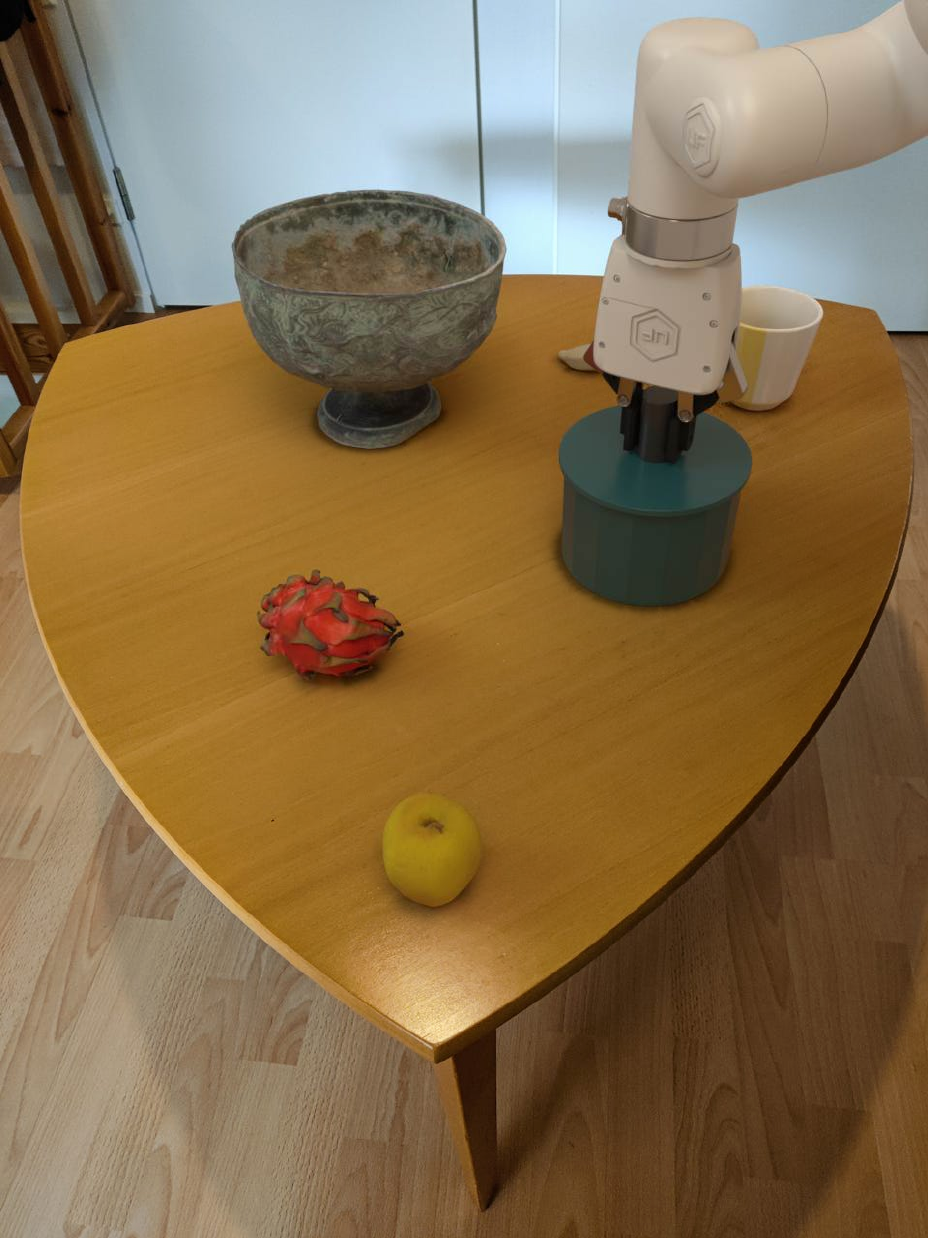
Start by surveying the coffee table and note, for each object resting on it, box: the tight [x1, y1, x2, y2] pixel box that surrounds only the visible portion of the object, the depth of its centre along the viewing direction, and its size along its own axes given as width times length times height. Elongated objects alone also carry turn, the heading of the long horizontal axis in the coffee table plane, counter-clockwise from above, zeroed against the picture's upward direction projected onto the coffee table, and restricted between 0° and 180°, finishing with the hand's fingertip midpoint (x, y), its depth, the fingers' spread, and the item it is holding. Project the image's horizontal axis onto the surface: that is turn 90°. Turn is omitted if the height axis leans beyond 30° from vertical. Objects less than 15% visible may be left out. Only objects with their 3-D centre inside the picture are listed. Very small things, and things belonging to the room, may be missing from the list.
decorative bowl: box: [231, 189, 507, 450], centre depth 102 cm, size 26×26×20 cm
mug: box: [722, 285, 824, 412], centre depth 104 cm, size 14×10×10 cm
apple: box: [381, 791, 483, 908], centre depth 63 cm, size 6×6×8 cm
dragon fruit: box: [256, 569, 405, 682], centre depth 79 cm, size 8×8×12 cm
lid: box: [558, 385, 753, 517], centre depth 81 cm, size 16×16×7 cm
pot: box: [560, 476, 742, 607], centre depth 86 cm, size 15×15×10 cm
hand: (655, 446), depth 82 cm, fingers closed on lid, 3 cm apart
